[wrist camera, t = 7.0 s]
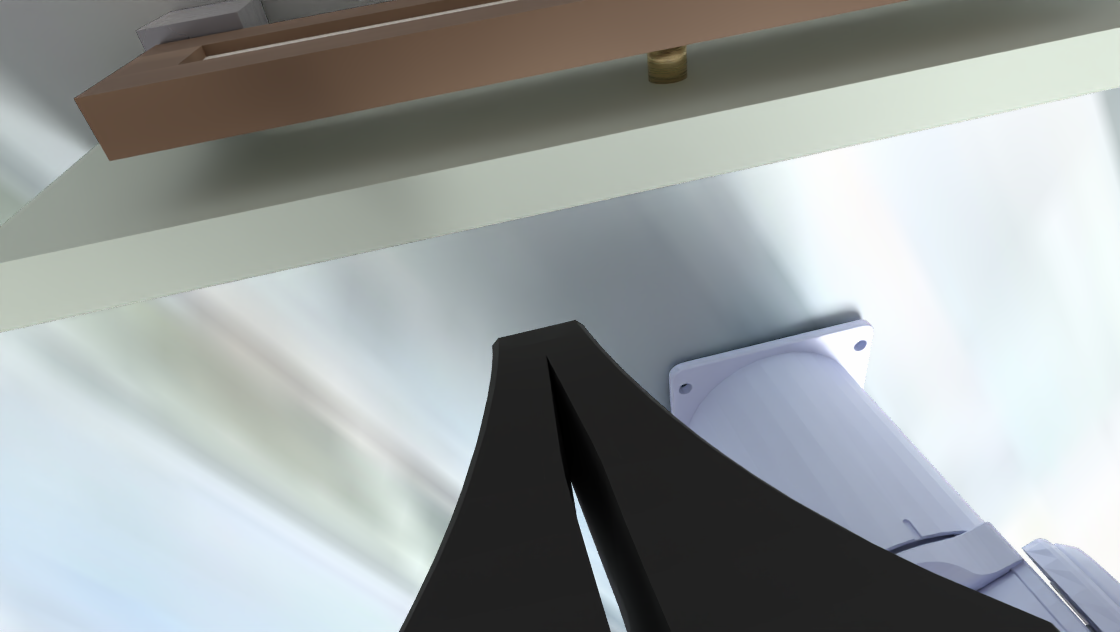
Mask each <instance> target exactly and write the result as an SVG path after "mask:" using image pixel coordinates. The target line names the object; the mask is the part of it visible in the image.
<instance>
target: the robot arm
mask: <svg viewBox="0 0 1120 632" xmlns="http://www.w3.org/2000/svg"><path fill="white" fill-rule="evenodd" d="M873 332H874V330H873V327H872V325H871V324H870V323H869V322H867V321H866V320H863V319H861V320H855V321H851V322H847V323H843V324H839V325H835V326H831V327H827V328H822V329H818V330H814V331H810V332H806V333H802V334H798V335H794V336H790V337H786V338H781V339H777V340H773V341H769V342H765V343H761V344H757V345H753V346H749V347H744V348H740V349H736V350H732V351H728V352H724V353H720V354H716V355H712V356H708V357H703V358H699V359H695V360H691V361H687V362H683V363H680V364H677V365H676V366H674V367H673V368H672V369H671V371H670V373H669V386H670V404H671V413H670V412H669V411H668V410H667V409H666V408H665V407H663V406H662V405H661V404H660V403H659V402H658V401H657V400H655V399H654V398H653V397H652V396H651V395H650V394H649V393H648V392H647V391H646V390H644V389H643V388H642V387H641V386H640V385H639V384H638V383H637V382H636V381H635V380H634V379H632V378H631V377H630V376H629V375H628V374H627V373H626V372H625V371H624V370H623V369H622V368H621V367H620V366H619V365H618V364H617V363H616V362H615V361H614V360H613V359H612V358H611V356H610V355H609V354H608V353H607V352H606V351H605V350H604V349H603V348H602V347H601V346H600V345H599V343H598V342H597V341H596V340H595V339H594V338H593V336H592V335H591V334H590V333H589V332H588V330H587V329H586V328H585V326H584V325H583V324H581V323H579V322H578V321H576V320H574V321H570V322H565V323H561V324H557V325H553V326H548V327H544V328H540V329H536V330H531V331H527V332H523V333H518V334H514V335H510V336H506V337H501V338H498V339H497V340H496V342H495V343H494V344H493V346H492V349H493V360H492V372H491V380H490V386H489V391H488V397H487V402H486V407H485V411H484V415H483V419H482V423H481V428H480V432H479V436H478V440H477V443H476V447H475V450H474V453H473V457H472V460H471V463H470V466H469V469H468V472H467V475H466V479H465V482H464V485H463V488H462V491H461V494H460V497H459V499H458V502H457V505H456V507H455V510H454V513H453V515H452V518H451V521H450V523H449V526H448V528H447V530H446V533H445V535H444V538H443V540H442V542H441V545H440V547H439V550H438V552H437V554H436V556H435V559H434V561H433V563H432V565H431V567H430V569H429V572H428V574H427V576H426V578H425V580H424V582H423V584H422V586H421V588H420V591H419V593H418V595H417V597H416V599H415V601H414V603H413V605H412V607H411V609H410V611H409V613H408V615H407V617H406V619H405V621H404V623H403V625H402V627H401V629H400V631H399V632H611V631H610V628H609V625H608V621H607V618H606V615H605V611H604V608H603V605H602V601H601V598H600V595H599V591H598V588H597V585H596V581H595V578H594V574H593V571H592V568H591V564H590V561H589V557H588V554H587V551H586V547H585V544H584V540H583V537H582V534H581V530H580V527H579V523H578V520H577V515H576V509H575V503H574V497H573V491H572V485H573V488H574V490H575V493H576V496H577V498H578V501H579V504H580V506H581V509H582V512H583V514H584V517H585V519H586V522H587V525H588V527H589V530H590V533H591V535H592V538H593V540H594V543H595V546H596V548H597V551H598V554H599V556H600V559H601V561H602V564H603V567H604V569H605V572H606V575H607V577H608V580H609V582H610V585H611V588H612V590H613V593H614V595H615V598H616V601H617V603H618V606H619V609H620V612H621V615H622V618H623V621H624V624H625V627H626V630H627V632H1120V583H1119V582H1118V581H1117V580H1116V579H1114V578H1113V577H1112V576H1111V575H1110V574H1109V573H1108V572H1107V571H1106V570H1105V569H1103V568H1102V567H1101V566H1100V565H1099V564H1098V563H1097V562H1095V561H1094V560H1093V559H1092V558H1091V557H1089V556H1088V555H1087V554H1086V553H1084V552H1083V551H1082V550H1080V549H1079V548H1076V547H1072V546H1067V545H1062V544H1054V545H1053V544H1052V543H1050V542H1049V541H1047V540H1046V539H1041V538H1039V539H1036V540H1034V541H1032V542H1030V543H1029V544H1027V545H1026V546H1024V547H1022V549H1023V550H1024V551H1025V553H1026V554H1027V555H1028V556H1029V558H1030V559H1031V560H1032V561H1033V562H1034V563H1035V564H1036V566H1037V567H1038V568H1039V569H1040V570H1041V571H1042V572H1043V574H1044V575H1045V576H1046V577H1047V578H1048V579H1049V580H1050V581H1051V582H1050V584H1051V585H1052V586H1053V588H1054V589H1055V590H1056V591H1057V592H1058V593H1059V594H1060V596H1061V597H1062V598H1063V599H1064V600H1065V601H1066V602H1067V603H1068V605H1069V606H1070V607H1071V608H1072V609H1073V610H1074V611H1075V612H1076V614H1077V615H1078V616H1079V617H1080V618H1081V619H1082V620H1083V621H1084V622H1085V624H1086V626H1085V625H1084V624H1083V623H1082V621H1081V620H1080V619H1079V618H1078V617H1077V616H1076V615H1075V614H1074V613H1073V612H1072V611H1071V610H1070V608H1069V607H1068V606H1067V605H1066V604H1065V603H1064V602H1063V601H1062V600H1061V599H1060V598H1059V597H1058V596H1057V594H1056V593H1055V592H1054V591H1053V590H1052V589H1051V588H1050V587H1049V586H1048V585H1047V584H1046V583H1045V582H1044V580H1043V579H1042V578H1041V577H1040V576H1039V575H1038V574H1037V573H1036V572H1035V571H1034V570H1033V569H1032V568H1031V567H1030V566H1029V565H1028V564H1027V562H1026V561H1025V560H1024V559H1023V558H1022V557H1021V556H1020V555H1019V554H1018V553H1017V551H1016V550H1015V549H1014V548H1013V547H1012V546H1011V545H1010V544H1009V543H1008V542H1007V541H1006V539H1005V538H1004V537H1003V536H1002V535H1001V534H1000V533H999V532H998V531H997V530H996V529H995V528H994V526H993V525H992V524H991V523H989V522H984V521H983V520H982V519H981V518H980V516H979V515H978V514H977V513H976V512H975V511H974V510H973V509H972V508H971V507H970V505H969V504H968V503H967V502H966V501H965V500H964V499H963V498H962V497H961V496H960V494H959V493H958V492H957V491H956V490H955V489H954V488H953V487H952V486H951V485H950V484H949V482H948V481H947V480H946V479H945V478H944V477H943V476H942V475H941V474H940V473H939V471H938V470H937V469H936V468H935V467H934V466H933V465H932V464H931V463H930V462H929V460H928V459H927V458H926V457H925V456H924V455H923V454H922V453H921V452H920V451H919V449H918V448H917V447H916V446H915V445H914V444H913V443H912V442H911V441H910V440H909V439H908V437H907V436H906V435H905V434H904V433H903V432H902V431H901V430H900V429H899V428H898V426H897V425H896V424H895V423H894V422H893V421H892V420H891V419H890V418H889V417H888V415H887V414H886V413H885V412H884V411H883V410H882V409H881V408H880V407H879V406H878V404H877V403H876V402H875V401H874V400H873V399H872V398H871V397H870V396H869V395H868V394H867V392H866V391H865V390H864V389H863V388H864V382H865V377H866V371H867V366H868V360H869V355H870V349H871V343H872V338H873ZM857 342H858V343H857ZM856 343H857V344H856ZM683 384H687V385H686V386H684V387H682V388H680V387H681V386H682V385H683ZM571 482H572V485H571Z"/></svg>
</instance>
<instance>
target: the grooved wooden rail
mask: <svg viewBox="0 0 1120 632" xmlns="http://www.w3.org/2000/svg"><path fill="white" fill-rule="evenodd" d="M903 1H908V0H394V1H388V2H383V3H378V4H372V5H367V6H362V7H356V8H351V9H346V10H340V11H335V12H329V13H324V14H319V15H313V16H308V17H303V18H297V19H292V20H287V21H281V22H276V23H271V24H265V25H260V26H255V27H249V28H244V29H239V30H233V31H228V32H223V33H217V34H212V35H207V36H201V37H196V38H191V39H185V40H180V41H175V42H169V43H164V44H159V45H155V46H154V47H152V48H151V49H149V50H148V51H146V52H145V53H143V54H142V55H140V56H138V57H137V58H135V59H134V60H132V61H131V62H129V63H128V64H126V65H125V66H123V67H122V68H120V69H118V70H117V71H115V72H114V73H112V74H111V75H109V76H108V77H106V78H105V79H103V80H102V81H100V82H98V83H97V84H95V85H94V86H92V87H91V88H89V89H88V90H86V91H85V92H83V93H82V94H80V95H79V96H77V97H75V98H74V100H75V102H76V104H77V105H78V107H79V109H80V111H81V112H82V114H83V116H84V118H85V119H86V121H87V123H88V124H89V126H90V128H91V130H92V131H93V133H94V135H95V137H96V138H97V140H98V142H99V144H100V145H101V147H102V149H103V151H104V152H105V154H106V156H107V158H108V159H109V161H113V160H118V159H123V158H128V157H133V156H138V155H143V154H148V153H153V152H158V151H163V150H168V149H173V148H178V147H183V146H188V145H193V144H198V143H203V142H208V141H213V140H218V139H223V138H228V137H232V136H237V135H242V134H247V133H252V132H257V131H262V130H267V129H272V128H277V127H282V126H287V125H292V124H297V123H302V122H307V121H312V120H317V119H322V118H327V117H332V116H337V115H342V114H347V113H352V112H357V111H362V110H367V109H372V108H376V107H381V106H386V105H391V104H396V103H401V102H406V101H411V100H416V99H421V98H426V97H431V96H436V95H441V94H446V93H451V92H456V91H461V90H466V89H471V88H476V87H481V86H486V85H491V84H496V83H501V82H506V81H511V80H516V79H520V78H525V77H530V76H535V75H540V74H545V73H550V72H555V71H560V70H565V69H570V68H575V67H580V66H585V65H590V64H595V63H600V62H605V61H610V60H615V59H620V58H625V57H630V56H635V55H640V54H645V53H650V52H655V51H660V50H664V49H669V48H674V47H679V46H684V45H689V44H694V43H699V42H704V41H709V40H714V39H719V38H724V37H729V36H734V35H739V34H744V33H749V32H754V31H759V30H764V29H769V28H774V27H779V26H784V25H789V24H794V23H799V22H804V21H809V20H813V19H818V18H823V17H828V16H833V15H838V14H843V13H848V12H853V11H858V10H863V9H868V8H873V7H878V6H883V5H888V4H893V3H898V2H903Z"/></svg>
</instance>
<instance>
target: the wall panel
mask: <svg viewBox="0 0 1120 632" xmlns="http://www.w3.org/2000/svg"><path fill="white" fill-rule="evenodd" d="M265 24H269V22H268V19H267V17H266V14H265V11H264V9H263V6H262V3H261V1H260V0H231V1H226V2H220V3H215V4H209V5H204V6H198V7H193V8H187V9H182V10H177V11H171V12H169V13H167V14H166V15H164V16H162V17H160V18H158V19H156V20H155V21H153V22H151V23H149V24H147V25H145V26H143V27H142V28H140V29H138V30H136V33H137V35H138V37H139V39H140V41H141V43H142V45H143V47H144V49H145V51H148V50H149V49H151V48H152V47H154V46H155V45H159V44H164V43H169V42H175V41H180V40H185V39H191V38H196V37H201V36H207V35H212V34H217V33H223V32H228V31H233V30H239V29H244V28H249V27H255V26H260V25H265ZM1118 87H1120V0H908V1H903V2H898V3H893V4H888V5H883V6H878V7H873V8H868V9H863V10H858V11H853V12H848V13H843V14H838V15H833V16H828V17H823V18H818V19H813V20H809V21H804V22H799V23H794V24H789V25H784V26H779V27H774V28H769V29H764V30H759V31H754V32H749V33H744V34H739V35H734V36H729V37H724V38H719V39H714V40H709V41H704V42H699V43H694V44H689V45H684V46H679V47H674V48H669V49H664V50H660V51H655V52H650V53H645V54H640V55H635V56H630V57H625V58H620V59H615V60H610V61H605V62H600V63H595V64H590V65H585V66H580V67H575V68H570V69H565V70H560V71H555V72H550V73H545V74H540V75H535V76H530V77H525V78H520V79H516V80H511V81H506V82H501V83H496V84H491V85H486V86H481V87H476V88H471V89H466V90H461V91H456V92H451V93H446V94H441V95H436V96H431V97H426V98H421V99H416V100H411V101H406V102H401V103H396V104H391V105H386V106H381V107H376V108H372V109H367V110H362V111H357V112H352V113H347V114H342V115H337V116H332V117H327V118H322V119H317V120H312V121H307V122H302V123H297V124H292V125H287V126H282V127H277V128H272V129H267V130H262V131H257V132H252V133H247V134H242V135H237V136H232V137H228V138H223V139H218V140H213V141H208V142H203V143H198V144H193V145H188V146H183V147H178V148H173V149H168V150H163V151H158V152H153V153H148V154H143V155H138V156H133V157H128V158H123V159H118V160H113V161H109V159H108V158H107V156H106V154H105V152H104V151H103V149H102V147H101V145H100V144H99V143H98V144H97V145H96V146H95V147H94V148H92V149H91V150H90V151H89V152H88V153H86V154H85V155H84V156H83V157H82V158H81V159H79V160H78V161H77V162H76V163H75V164H73V165H72V166H71V167H70V168H69V169H68V170H66V171H65V172H64V173H63V174H62V175H60V176H59V177H58V178H57V179H56V180H55V181H53V182H52V183H51V184H50V185H49V186H47V187H46V188H45V189H44V190H43V191H42V192H40V193H39V194H38V195H37V196H36V197H34V198H33V199H32V200H31V201H30V202H29V203H27V204H26V205H25V206H24V207H23V208H21V209H20V210H19V211H18V212H17V213H16V214H14V215H13V216H12V217H11V218H10V219H8V220H7V221H6V222H5V223H4V224H3V225H1V226H0V333H1V332H5V331H10V330H14V329H19V328H24V327H28V326H33V325H37V324H42V323H46V322H51V321H55V320H60V319H65V318H69V317H74V316H78V315H83V314H87V313H92V312H97V311H101V310H106V309H110V308H115V307H119V306H124V305H128V304H133V303H138V302H142V301H147V300H151V299H156V298H160V297H165V296H169V295H174V294H179V293H183V292H188V291H192V290H197V289H201V288H206V287H211V286H215V285H220V284H224V283H229V282H233V281H238V280H242V279H247V278H252V277H256V276H261V275H265V274H270V273H274V272H279V271H284V270H288V269H293V268H297V267H302V266H306V265H311V264H315V263H320V262H325V261H329V260H334V259H338V258H343V257H347V256H352V255H357V254H361V253H366V252H370V251H375V250H379V249H384V248H388V247H393V246H398V245H402V244H407V243H411V242H416V241H420V240H425V239H429V238H434V237H439V236H443V235H448V234H452V233H457V232H461V231H466V230H471V229H475V228H480V227H484V226H489V225H493V224H498V223H502V222H507V221H512V220H516V219H521V218H525V217H530V216H534V215H539V214H544V213H548V212H553V211H557V210H562V209H566V208H571V207H575V206H580V205H585V204H589V203H594V202H598V201H603V200H607V199H612V198H617V197H621V196H626V195H630V194H635V193H639V192H644V191H648V190H653V189H658V188H662V187H667V186H671V185H676V184H680V183H685V182H689V181H694V180H699V179H703V178H708V177H712V176H717V175H721V174H726V173H731V172H735V171H740V170H744V169H749V168H753V167H758V166H762V165H767V164H772V163H776V162H781V161H785V160H790V159H794V158H799V157H804V156H808V155H813V154H817V153H822V152H826V151H831V150H835V149H840V148H845V147H849V146H854V145H858V144H863V143H867V142H872V141H877V140H881V139H886V138H890V137H895V136H899V135H904V134H908V133H913V132H918V131H922V130H927V129H931V128H936V127H940V126H945V125H949V124H954V123H959V122H963V121H968V120H972V119H977V118H981V117H986V116H991V115H995V114H1000V113H1004V112H1009V111H1013V110H1018V109H1022V108H1027V107H1032V106H1036V105H1041V104H1045V103H1050V102H1054V101H1059V100H1064V99H1068V98H1073V97H1077V96H1082V95H1086V94H1091V93H1095V92H1100V91H1105V90H1109V89H1114V88H1118Z"/></svg>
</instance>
